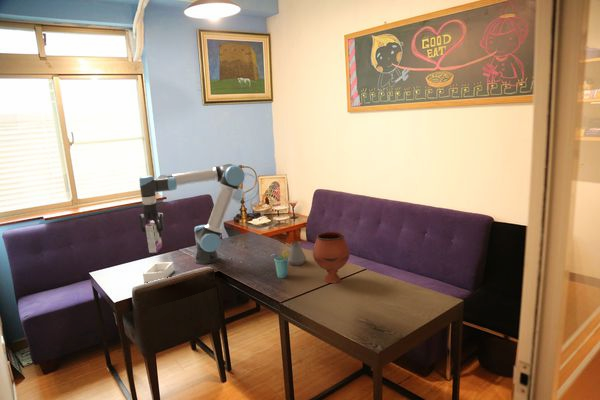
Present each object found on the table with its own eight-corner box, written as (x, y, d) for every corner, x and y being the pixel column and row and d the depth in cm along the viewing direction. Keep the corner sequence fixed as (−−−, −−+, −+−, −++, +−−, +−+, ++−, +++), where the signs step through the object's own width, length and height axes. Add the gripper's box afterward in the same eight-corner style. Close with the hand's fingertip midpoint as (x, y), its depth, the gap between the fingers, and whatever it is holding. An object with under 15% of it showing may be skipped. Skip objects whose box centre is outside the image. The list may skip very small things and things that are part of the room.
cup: (277, 282, 218) (275, 255, 215) (267, 279, 223) (265, 253, 220) (294, 274, 229) (292, 248, 226) (284, 271, 234) (282, 246, 231)
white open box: (174, 270, 246) (173, 261, 245) (164, 281, 229) (162, 272, 228) (155, 271, 247) (154, 262, 246) (144, 282, 230) (142, 273, 229)
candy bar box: (154, 247, 240) (150, 220, 237) (162, 246, 241) (159, 219, 237) (148, 253, 229) (144, 225, 226) (157, 252, 230) (153, 224, 226)
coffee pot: (309, 261, 248) (308, 237, 245) (300, 267, 238) (298, 243, 235) (280, 257, 259) (278, 234, 256) (270, 263, 249) (268, 239, 246)
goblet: (348, 272, 226) (346, 229, 221) (352, 286, 208) (350, 239, 203) (314, 274, 227) (311, 230, 222) (314, 288, 208) (311, 241, 203)
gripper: (167, 201, 233) (172, 240, 237) (136, 202, 234) (141, 241, 238) (163, 203, 226) (168, 244, 230) (130, 205, 226) (136, 245, 231)
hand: (154, 242), depth 234 cm, fingers closed on candy bar box, 5 cm apart
